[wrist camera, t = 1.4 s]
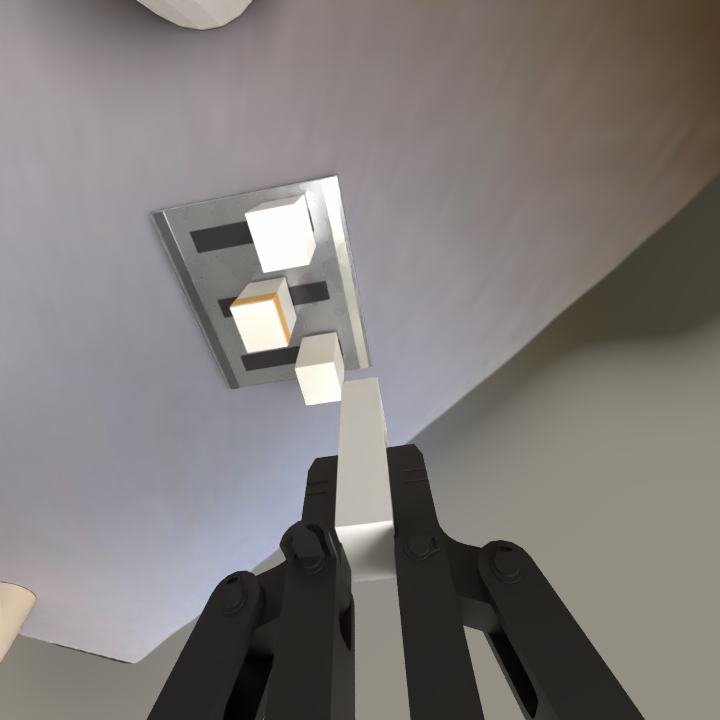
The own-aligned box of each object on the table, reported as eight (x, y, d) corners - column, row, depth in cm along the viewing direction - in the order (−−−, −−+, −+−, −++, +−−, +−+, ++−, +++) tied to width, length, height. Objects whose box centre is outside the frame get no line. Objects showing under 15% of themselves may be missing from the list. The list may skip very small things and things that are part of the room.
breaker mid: (262, 324, 30) (247, 353, 26) (248, 283, 28) (229, 307, 24) (297, 318, 30) (287, 346, 25) (284, 276, 28) (272, 299, 23)
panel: (234, 377, 35) (228, 389, 34) (161, 209, 27) (148, 214, 25) (370, 355, 34) (372, 366, 33) (337, 174, 26) (336, 176, 24)
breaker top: (277, 253, 27) (263, 272, 22) (262, 202, 25) (244, 213, 21) (316, 245, 27) (309, 264, 22) (303, 194, 25) (294, 204, 20)
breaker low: (312, 371, 32) (306, 405, 28) (302, 337, 31) (294, 368, 26) (344, 366, 32) (343, 399, 28) (336, 332, 30) (333, 362, 26)
